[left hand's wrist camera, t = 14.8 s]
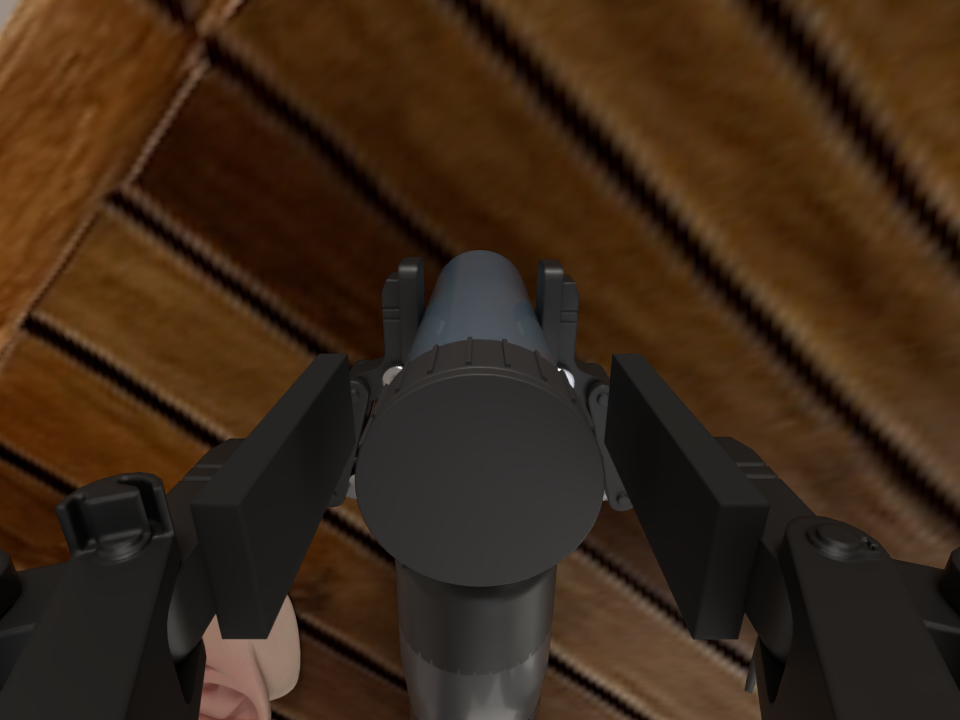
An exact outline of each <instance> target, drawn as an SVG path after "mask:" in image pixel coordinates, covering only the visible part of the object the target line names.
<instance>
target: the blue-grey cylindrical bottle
mask: <svg viewBox="0 0 960 720" xmlns="http://www.w3.org/2000/svg"><path fill="white" fill-rule="evenodd" d="M467 337H472V339H489V340H497V341H502V339H507V341H508V343H511V344H515V345H518V346H521V347H524V348H526V349H528V350H530V351H533V352H534V351H535V350H537V351H539V352H540V355H541V357H543V358H544V359H546V360H547V361H549V362H550V363H551V364H552V365H553V366H555V367H556V365H555V363H554V360H553V357H552V355H551V352H550V350H549V347H548V344H547V342H546V339H545V337H544V334H543V331H542V329H541V326H540V324H539V321H538V318H537V316H536V313H535V311H534V308H533V305H532V303H531V300H530V298H529V295H528V292H527V290H526V287H525V285H524V282H523V279H522V277H521V275H520V273H519V271H518V270H517V268H516V267H515V266H514V265H513V264H512V263H511V262H510V261H509V260H508V259H506V258H505V257H503V256H501V255H499V254H497V253H494V252H491V251H485V250H474V251H469V252H466V253H463V254H461V255H458V256H457V257H455V258H454V259H452V260H451V261H450V262H449V263H448V264H447V265H446V266H445V267H444V268H443V270H442V271H441V273H440V275H439V277H438V279H437V282H436V284H435V287H434V290H433V292H432V295H431V297H430V300H429V303H428V305H427V308H426V310H425V313H424V315H423V318H422V321H421V323H420V326H419V328H418V331H417V334H416V336H415V339H414V341H413V344H412V347H411V349H410V352H409V354H408V357H407V360H409V361H410V362H411V361H413V360H414V359H416V358H417V357H419V356H420V355H422V354H424V353H426V352H428V351H430V350H431V349H433V346H434V345H436V344H438V345H439V346H442V345H445V344H448V343H452V342H457V341H461V340H467ZM407 360H406V361H407Z"/></svg>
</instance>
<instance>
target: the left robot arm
mask: <svg viewBox="0 0 960 720" xmlns="http://www.w3.org/2000/svg"><path fill="white" fill-rule="evenodd" d="M355 444H356V436H355V426H354V416H353V406H352V395H351V385H350V375H349V365H348V355H347V354H319V355H318V356H317V357H316V358H315V359H314V361H313V362H312V363H311V364H310V365H309V366H308V368H307V369H306V370H305V371H304V372H303V373H302V374H301V376H300V377H299V378H298V379H297V380H296V381H295V383H294V384H293V385H292V386H291V387H290V388H289V389H288V391H287V392H286V393H285V394H284V395H283V396H282V398H281V399H280V400H279V401H278V402H277V403H276V404H275V406H274V407H273V408H272V409H271V410H270V411H269V413H268V414H267V415H266V416H265V417H264V418H263V419H262V421H261V422H260V423H259V424H258V425H257V426H256V428H255V429H254V430H253V431H252V432H251V433H250V434H249V436H248V437H247V438H246V439H228V440H227V441H225V442H223V443H221V444H220V445H218V446H216V447H214V448H213V449H211V450H209V451H208V452H207V453H206V454H205V455H204V456H203V457H202V458H201V459H200V460H199V461H198V462H197V463H196V464H195V467H194V468H192V469H191V470H190V471H189V472H188V473H187V474H186V475H185V476H184V477H183V481H179V482H178V483H177V484H176V485H175V486H174V487H173V488H172V489H171V490H170V492H169V493H168V494H167V495H166V494H165V490H164V486H163V483H162V480H161V479H160V478H159V477H157V476H156V475H154V474H149V473H142V472H137V473H125V474H119V475H115V476H111V477H107V478H103V479H100V480H98V481H95V482H93V483H90V484H88V485H85V486H83V487H81V488H79V489H78V490H76V491H75V492H73V493H71V494H70V495H68V496H66V497H65V498H64V499H63V500H62V501H61V502H60V503H59V504H58V505H57V506H56V507H55V510H56V513H57V516H58V519H59V522H60V524H61V527H62V530H63V533H64V536H65V539H66V541H67V544H68V547H69V550H70V553H71V557H70V559H69V561H67V562H62V563H57V564H52V565H47V566H43V567H38V568H33V569H28V570H23V571H18V572H16V569H15V567H14V565H13V562H12V560H11V557H10V555H9V554H8V553H7V552H5V551H4V550H2V549H0V720H198V719H199V712H200V704H201V697H202V689H203V682H204V674H205V667H206V659H207V657H206V649H205V644H204V640H203V637H202V636H203V634H204V633H205V631H206V629H207V628H208V626H209V624H210V623H211V621H212V619H213V618H214V616H215V614H216V616H217V621H218V625H219V629H220V633H221V637H222V639H267V638H268V636H269V634H270V632H271V629H272V627H273V625H274V623H275V621H276V618H277V616H278V614H279V612H280V609H281V607H282V605H283V603H284V601H285V598H286V596H287V594H288V592H289V590H290V587H291V585H292V583H293V581H294V579H295V576H296V574H297V572H298V570H299V567H300V565H301V563H302V561H303V559H304V556H305V554H306V552H307V550H308V548H309V545H310V543H311V541H312V539H313V537H314V534H315V532H316V530H317V528H318V526H319V523H320V521H321V519H322V517H323V514H324V512H325V510H326V508H327V506H328V503H329V501H330V499H331V497H332V495H333V492H334V490H335V488H336V486H337V484H338V481H339V479H340V477H341V475H342V472H343V470H344V468H345V466H346V464H347V461H348V459H349V457H350V455H351V453H352V450H353V448H354V446H355ZM604 444H605V446H606V448H607V450H608V453H609V455H610V457H611V459H612V461H613V464H614V466H615V468H616V470H617V472H618V475H619V477H620V479H621V481H622V484H623V486H624V488H625V490H626V492H627V495H628V497H629V499H630V501H631V503H632V506H633V508H634V510H635V512H636V514H637V517H638V519H639V521H640V523H641V526H642V528H643V530H644V532H645V534H646V537H647V539H648V541H649V543H650V545H651V548H652V550H653V552H654V554H655V556H656V559H657V561H658V563H659V565H660V567H661V570H662V572H663V574H664V576H665V579H666V581H667V583H668V585H669V587H670V590H671V592H672V594H673V596H674V598H675V601H676V603H677V605H678V607H679V609H680V612H681V614H682V616H683V618H684V621H685V623H686V625H687V627H688V629H689V632H690V634H691V636H692V638H693V639H738V637H739V633H740V629H741V625H742V621H743V616H744V612H745V613H746V615H747V617H748V618H749V620H750V622H751V623H752V625H753V627H754V628H755V630H756V632H757V633H758V637H757V640H756V644H755V648H754V652H753V656H752V660H751V664H750V667H749V671H748V675H747V679H746V685H745V691H746V692H749V693H752V692H753V689H754V685H755V681H757V688H758V695H759V703H760V710H761V718H762V720H960V547H958V548H957V549H955V550H954V551H952V552H951V555H950V557H949V560H948V562H947V565H946V567H945V569H939V568H934V567H929V566H924V565H919V564H914V563H910V562H905V561H900V560H895V559H891V558H890V556H889V554H888V553H887V552H886V551H885V549H884V548H883V547H882V546H881V544H880V543H879V542H878V541H876V540H875V539H873V538H872V537H871V536H869V535H868V534H866V533H865V532H864V531H862V530H859V529H857V528H855V527H853V526H851V525H849V524H847V523H845V522H841V521H838V520H834V519H831V518H827V517H821V516H816V515H815V514H814V513H813V512H812V511H811V510H810V509H809V508H808V507H807V506H806V505H805V504H804V503H803V501H802V500H801V499H800V498H799V497H798V496H797V495H796V494H795V493H794V492H793V491H792V490H791V489H790V488H789V487H788V486H787V485H786V484H785V483H784V482H783V481H782V480H781V479H778V476H777V475H776V474H775V473H774V472H773V471H772V469H771V468H770V467H766V463H765V462H764V461H763V460H762V459H761V458H760V457H759V456H758V455H757V454H756V453H755V452H754V451H753V450H752V449H751V448H749V447H747V446H745V445H744V444H742V443H740V442H738V441H737V440H735V439H733V438H731V437H712V436H711V434H710V433H709V432H708V431H707V430H706V429H705V428H704V426H703V425H702V424H701V423H700V422H699V421H698V419H697V418H696V417H695V416H694V415H693V414H692V413H691V411H690V410H689V409H688V408H687V407H686V406H685V404H684V403H683V402H682V401H681V400H680V399H679V398H678V396H677V395H676V394H675V393H674V392H673V391H672V389H671V388H670V387H669V386H668V385H667V384H666V383H665V381H664V380H663V379H662V378H661V377H660V376H659V374H658V373H657V372H656V371H655V370H654V369H653V368H652V366H651V365H650V364H649V363H648V362H647V361H646V359H645V358H644V357H643V356H642V355H641V354H613V355H612V365H611V375H610V385H609V395H608V406H607V416H606V426H605V436H604Z"/></svg>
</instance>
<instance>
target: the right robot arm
mask: <svg viewBox="0 0 960 720" xmlns="http://www.w3.org/2000/svg"><path fill="white" fill-rule="evenodd" d="M382 307H383V309H382V311H383V329H384V346H385V355H384V356H382V357H380V358H377V359H374V360H367V359H362V360H359V361H357V362H356V363H355V364H354V365H353V367H352V368H351V370H350V373H349V375H350V385H351V395H352V406H353V416H354V426H355V436H356V444H355V446H354V448H353V450H352V453H351V455H350V457H349V459H348V461H347V464H346V466H345V468H344V470H343V472H342V475H341V477H340V479H339V481H338V484H337V486H336V488H335V490H334V492H333V495H332V497H331V499H330V501H329V503H328V507H337V506H339V505H341V504H342V503H343V502H344V500H345V497H349V498H354V499H357V497H356V493H355V468H356V461H357V457H358V453H359V450H360V448H358V444H359V442H360V439H361V437H362V435H363V432H364V430H365V428H366V426H367V423H368V421H369V418H370V414H371V410H372V405H373V401H374V400H376V399H378V398H379V396H380V394H381V391H382V389H383V387H384V385H385V384H386V383H387V384H388V385H389V384H390V382H391V381H392V380H393V379H394V378H395V376H396V375H397V374H398V373H399V372H400V371H401V370H402V368H403V366H404V363H405V362H406V360H407V357H408V354H409V352H410V349H411V347H412V344H413V341H414V339H415V336H416V334H417V331H418V328H419V326H420V323H421V321H422V318H423V315H424V313H425V301H424V265H423V258H422V257H404V258H403V259H402V261H401V262H400V263H399V267H398V272H392V273H391V275H390V276H389V277H388V278H387V279H386V282H385V284H384V287H383V290H382ZM578 307H579V293H578V290H577V287H576V284H575V282H574V281H573V280H572V278H571V277H570V276H569V275H564V273H563V266H562V265H561V264H560V262H559V261H558V260H539V263H538V275H537V293H536V311H535V313H536V316H537V318H538V321H539V324H540V326H541V329H542V331H543V334H544V337H545V339H546V342H547V344H548V347H549V350H550V352H551V355H552V357H553V360H554V363H555V365H556V368H557V369H558V370H559V371H560V370H562V369H563V370H564V371H565V373H566V376H567V378H568V380H569V383H570V384H571V386H572V387H573V389H574V391H575V393H576V395H577V396H578V395H581V396H582V399H583V401H584V403H585V405H586V407H587V410H588V412H589V414H590V416H591V419H592V421H593V423H594V425H595V428H596V430H594V431H593V433H594V436H595V438H596V440H597V442H598V445H599V447H600V450H601V452H602V454H603V457H604V461H603V463H604V469H605V490H604V497H603V501H604V500H608V502H609V504H610V506H611V507H612V508H613V509H615V510H617V511H626V510H629V509H631V508H632V507H633V506H632V503H631V501H630V499H629V497H628V495H627V492H626V490H625V488H624V486H623V484H622V481H621V479H620V477H619V475H618V472H617V470H616V468H615V466H614V464H613V461H612V459H611V457H610V455H609V453H608V450H607V448H606V446H605V444H604V436H605V426H606V416H607V406H608V395H609V385H610V379H609V377H608V376H607V374H606V372H605V371H604V369H603V368H602V367H601V366H600V365H599V364H596V363H588V364H587V363H584V362H582V361H579V360H577V359H575V358H574V354H575V342H576V330H577V319H578ZM556 568H557V564H556V565H555V566H553V567H551V568H550V569H548V570H546V571H544V572H542V573H540V574H538V575H535V576H533V577H530V578H528V579H525V580H521V581H518V582H514V583H510V584H504V585H498V586H485V587H479V586H463V585H455V584H450V583H446V582H442V581H438V580H435V579H432V578H430V577H427V576H424V575H422V574H420V573H418V572H416V571H414V570H412V569H410V568H409V567H407V566H405V565H404V564H402V563H401V562H399V561H398V560H397V559H395V569H396V587H397V606H398V623H399V640H400V654H401V662H402V668H403V672H404V676H405V680H406V684H407V690H408V707H409V720H539V711H540V698H541V687H542V683H543V680H544V677H545V673H546V669H547V664H548V658H549V651H550V639H551V628H552V616H553V604H554V591H555V580H556Z"/></svg>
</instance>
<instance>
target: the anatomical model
mask: <svg viewBox="0 0 960 720" xmlns="http://www.w3.org/2000/svg"><path fill="white" fill-rule="evenodd" d="M202 637H203V640H204V644H205V649H206V657H207V659H206V667H205V674H204V682H203V689H202V697H201V704H200V712H199V719H198V720H271V707H270V701H271V700H274V699H277V698H280V697H282V696H284V695H286V694H287V693H289V692H290V691H291V690H292V689H293V688H294V686H295V685H296V683H297V681H298V678H299V671H300V641H299V633H298V626H297V621H296V616H295V613H294V609H293V606H292V603H291V601H290V599H289V597H288V595H287V596H286V598H285V601H284V603H283V605H282V607H281V609H280V612H279V614H278V616H277V618H276V621H275V623H274V625H273V627H272V629H271V632H270V634H269V636H268V638H267V639H222V637H221V633H220V629H219V625H218V621H217V616H216V614H215V616H214V618H213V619H212V621H211V623H210V624H209V626H208V628H207V629H206V631H205V633H204V634H203V636H202Z"/></svg>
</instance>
